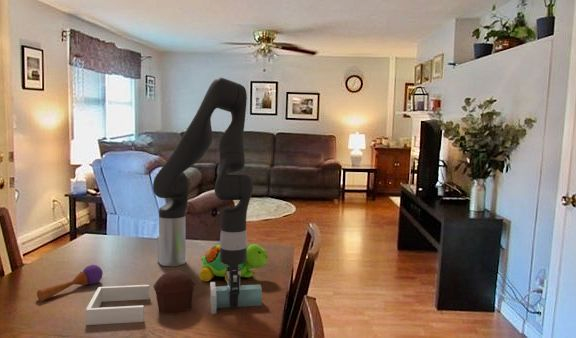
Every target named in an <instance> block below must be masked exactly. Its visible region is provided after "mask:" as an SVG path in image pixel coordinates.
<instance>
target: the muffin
mask: <svg viewBox="0 0 576 338" xmlns="http://www.w3.org/2000/svg"><path fill="white" fill-rule="evenodd" d="M195 286H196V283H195V281H194V280H193V279H192V277H191V275H190V274H189V273H186V272H183V271H182V270H169V271H168V272H165V273H163V274H162V275H161V276H160V277H158V279H157V280H156V281H155V283H154V284H153V285H152V287H153V289H154V291H155V295H156V296H155V297H156V301H157V308H158V311H159V312H161V313H163V314H164V315H177V314H182V313H186V312H187V311H188V310H190V309H191V308H192V301H193V294H194V288H195Z"/></svg>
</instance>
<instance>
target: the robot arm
mask: <svg viewBox="0 0 576 338" xmlns="http://www.w3.org/2000/svg"><path fill="white" fill-rule="evenodd" d="M247 96H248V95H247V90H246V87H245V86H244V85H242V84H241V83H238V82H236V81H232V80H230V79H227V78H224V77H216V78H215V79H214V80H213V81H212V82H211V84H210V85H209V87H208V89H207V91H206V93H205V95H204V97H203V99H202V101H201V104H200V106H199V107H198V110H197V111H196V114H195V115H194V117H193V119H192V121H191V122H190V124H189V126H188V127H187V128H186V130H185V131H184V133H183V135H182V136H181V138H180V139H179V142H178V144H177V145H176V147H175V149H174V150H173V152H172V153H171V155H169V156H170V157H169V158H168V159H167V161H166V162H165V163H164V165H163V166H162V167H161V168H160V169H159V170H158V173H157V174H156V175H155V177H154V180H153V183H152V190H153V193H154V195H155V196H156V197H158V198H161V199H169V200H168V201H167V202H166V203H165V204H164V205H162V206H161V207H160V208H158V209H159V210H158V226H159V227H158V236H157V237H156V240H157V242H156V245H157V247H156V249H157V251H156V253H157V255H156V256H157V259H156V260H157V263H158V264H159V265H160V266H163V267H177V266H182V265H184V264H185V263H186V253H187V251H186V249H187V248H186V246H187V245H186V211H187V209H188V201H189V200H188V199H189V198H188V197H189V181H188V177H187V175H186V174H185V171H187V170H188V169H189V168H191V167H193V166H194V165H195V164H197V163H199V161H200V160H201V159H202V158H203V157H204V156H205V154H206V153H207V152H208V150H209V148H210V147H211V145H212V142H213V138H214V137H213V129H212V124H211V123H212V122H211V118H212V116H213V114H214V111H215V110H216V109H219V110H223V111H226V112H228V113H230V114H231V122H230V124H229V125H228V127H227V128H226V130H225V131H224V132H223V134H222V136H221V138H220V140H219V147H218V148H219V169H218V175H217V177H216V180H215V183H214V194H215V196H216V197H217V199H218V200H220V201H238V202H237V204H236V205H234V206H231V207H227V208H223V210H221V212H220V213H221V214H220V234H219V236H220V237H219V242H220V262H221V263H223V264H226V265H227V267H226V278H227V281H228V282H226V285H227V286H229V289H230V292H229V294H230V307H229V308H231V309H233V308H234V309H235V308H238V295H239V293H240V292H239V285H241V277H240V275H241V269H240V266H238V265H239V264H243V263H245V262H246V260H247V248H248V247H247V246H248V235H247V213H248V208H249V204H250V201H251V197H252V195H253V190H254V181H253V179H252V177H251V176H249V175H247V174H232V173H236V172H238V171H241V170H243V169H244V167H245V164H246V161H245V146H244V131H245V125H246V124H245V122H246V113H247V112H246V111H247V101H248V100H247V99H248V97H247ZM236 287H237V290H232V288H236Z"/></svg>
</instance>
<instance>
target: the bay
mask: <svg viewBox="0 0 576 338" xmlns="http://www.w3.org/2000/svg"><path fill="white" fill-rule="evenodd" d="M141 300H150V284H137V285H116V286H115V285H114V286H98V287H97V289H96V290H95V293H94V295H93V296H92V297H91V300H90V302H89V303H88V305H87V307H86V309H85V326H92V325H110V324H126V323H129V324H131V323H143V322H144V321H145V312H144V311H145V310H144V309H145V306H144V305H143V304H141V305H126V306H107V307H106V306H105V307H100V306H101V305H102V302H120V301H122V302H123V301H141Z"/></svg>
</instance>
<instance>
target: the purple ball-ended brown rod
mask: <svg viewBox="0 0 576 338" xmlns="http://www.w3.org/2000/svg"><path fill="white" fill-rule="evenodd" d="M103 275H104V273H103V269H102V268H101V267H100V266H99V265H97V264H89V265H88V266H86V267H85V268H84V269H83V270H82V271H80V272H78V274H77V275H76V276H75V278H73V279H72V280H70V281H67V282H64V283H60V284H56V285H52V286H49V287H46V288H43V289H40V290H39V289H38V290H37V292H36V297H37V299H38V301H41V302H44V301H46V300H48V299H50V298H51V297H53V296H55V295H57V294H58V293H61V292H62V291H64V290H66V289H68V288H70V287H72V286H73V285H78V286H79V285H80V286H86V285H87V284H88V285H96V284H98V283H99V282H100V281H101V280H102V278H103Z"/></svg>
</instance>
